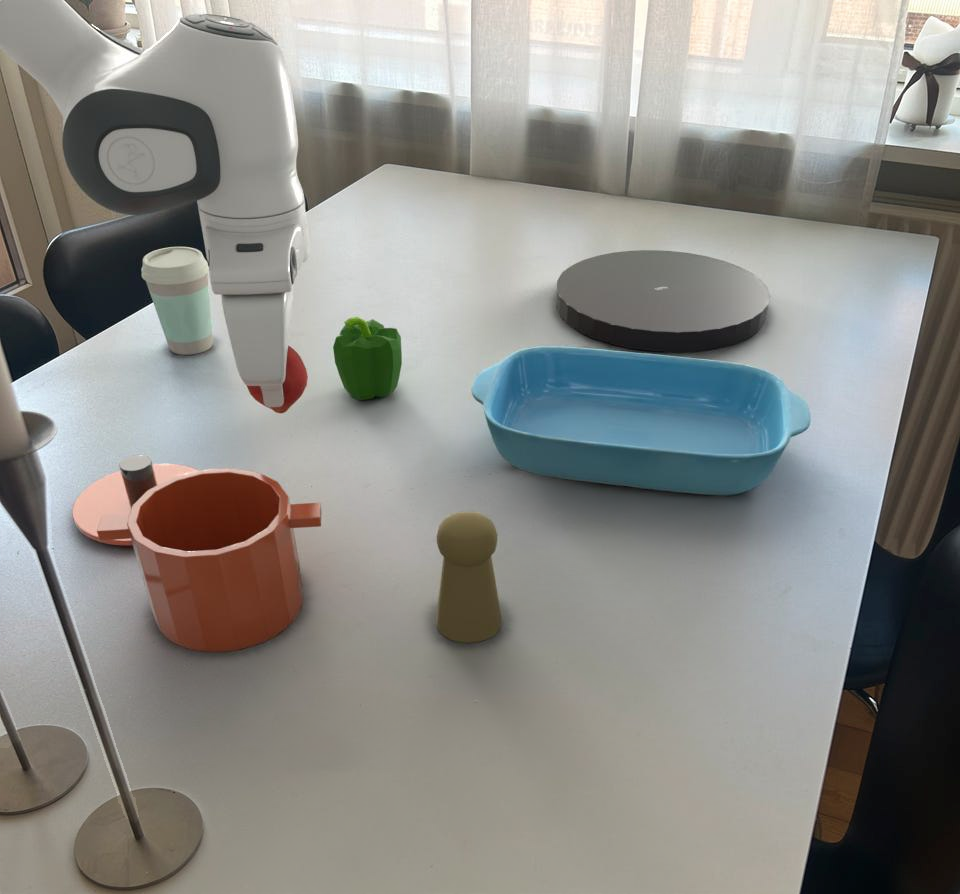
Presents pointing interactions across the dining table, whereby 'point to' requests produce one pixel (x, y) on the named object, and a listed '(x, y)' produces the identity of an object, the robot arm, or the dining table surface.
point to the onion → (287, 382)
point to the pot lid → (120, 493)
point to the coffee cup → (180, 297)
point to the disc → (662, 300)
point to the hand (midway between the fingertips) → (276, 385)
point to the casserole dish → (639, 418)
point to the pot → (217, 556)
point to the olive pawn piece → (467, 578)
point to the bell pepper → (368, 358)
